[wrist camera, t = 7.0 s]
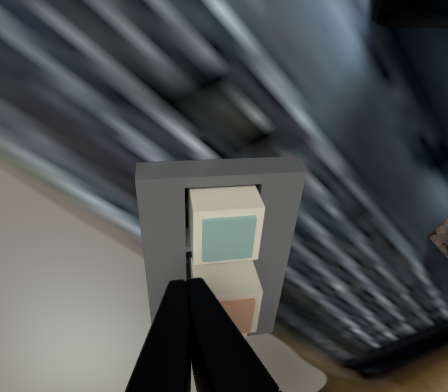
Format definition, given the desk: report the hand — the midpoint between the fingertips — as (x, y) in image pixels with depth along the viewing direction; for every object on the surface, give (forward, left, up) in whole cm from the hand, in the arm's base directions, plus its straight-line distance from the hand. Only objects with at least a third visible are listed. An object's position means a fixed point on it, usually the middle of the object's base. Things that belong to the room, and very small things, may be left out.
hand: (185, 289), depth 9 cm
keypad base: (-3, +11, -12) cm, 17 cm away
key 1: (-3, +6, -12) cm, 14 cm away
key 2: (-3, +11, -10) cm, 15 cm away
